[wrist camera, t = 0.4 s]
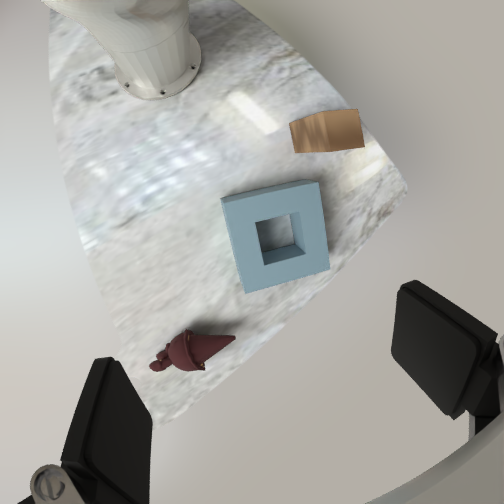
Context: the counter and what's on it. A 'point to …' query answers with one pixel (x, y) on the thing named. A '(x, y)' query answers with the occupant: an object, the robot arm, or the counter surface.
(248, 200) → the socket block
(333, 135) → the walnut peg
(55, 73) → the counter surface
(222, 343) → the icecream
